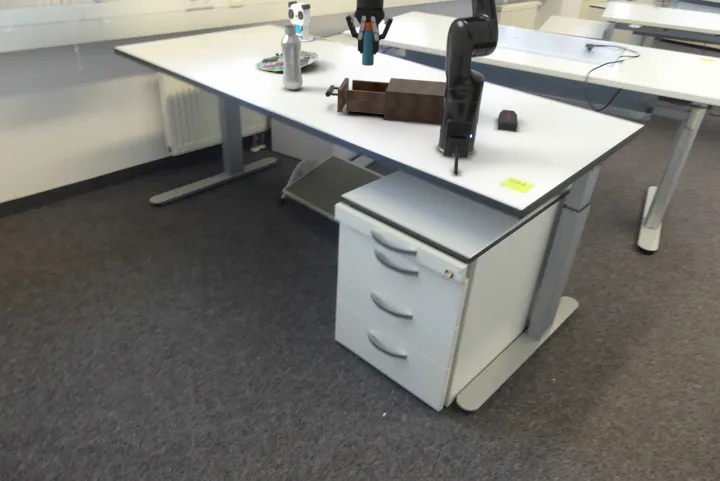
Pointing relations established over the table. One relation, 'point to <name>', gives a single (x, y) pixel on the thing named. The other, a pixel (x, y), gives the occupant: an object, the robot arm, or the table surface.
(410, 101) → the cabinet
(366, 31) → the glue stick
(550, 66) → the table surface
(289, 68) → the plastic bottle
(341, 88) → the drawer
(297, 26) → the panda figurine
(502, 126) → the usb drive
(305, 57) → the city model
